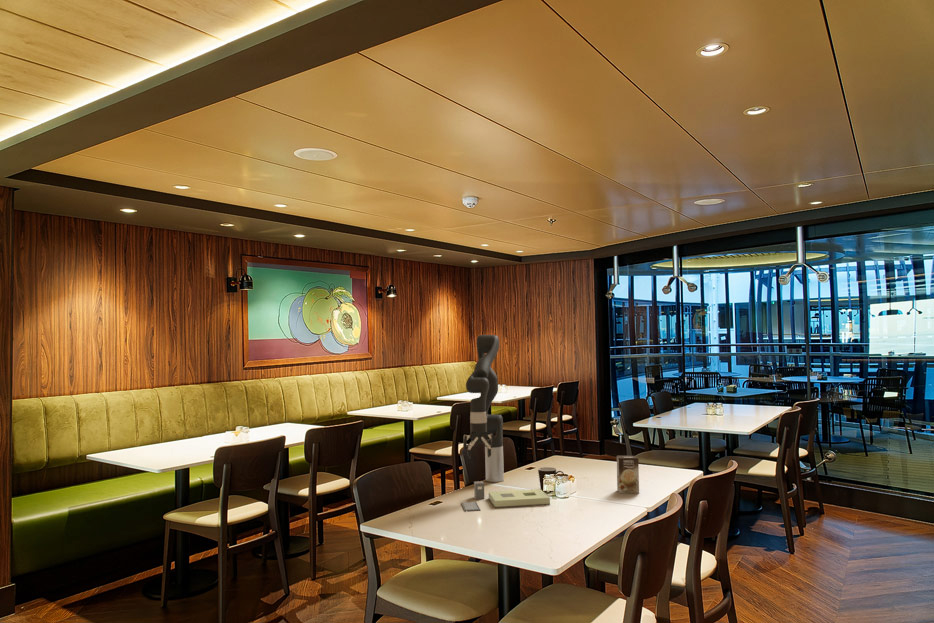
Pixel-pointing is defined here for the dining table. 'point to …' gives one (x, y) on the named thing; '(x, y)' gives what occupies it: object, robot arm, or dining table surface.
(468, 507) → the phone
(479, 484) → the block
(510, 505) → the outlet plate
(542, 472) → the coffee mug
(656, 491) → the dining table surface
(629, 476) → the coffee box
